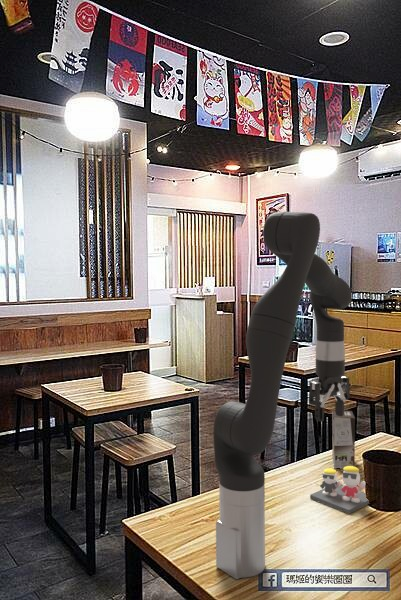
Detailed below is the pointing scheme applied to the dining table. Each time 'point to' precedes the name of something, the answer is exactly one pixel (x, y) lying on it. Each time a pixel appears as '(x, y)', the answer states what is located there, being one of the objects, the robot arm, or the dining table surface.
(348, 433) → the coffee box
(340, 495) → the mat
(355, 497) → the toy figures
